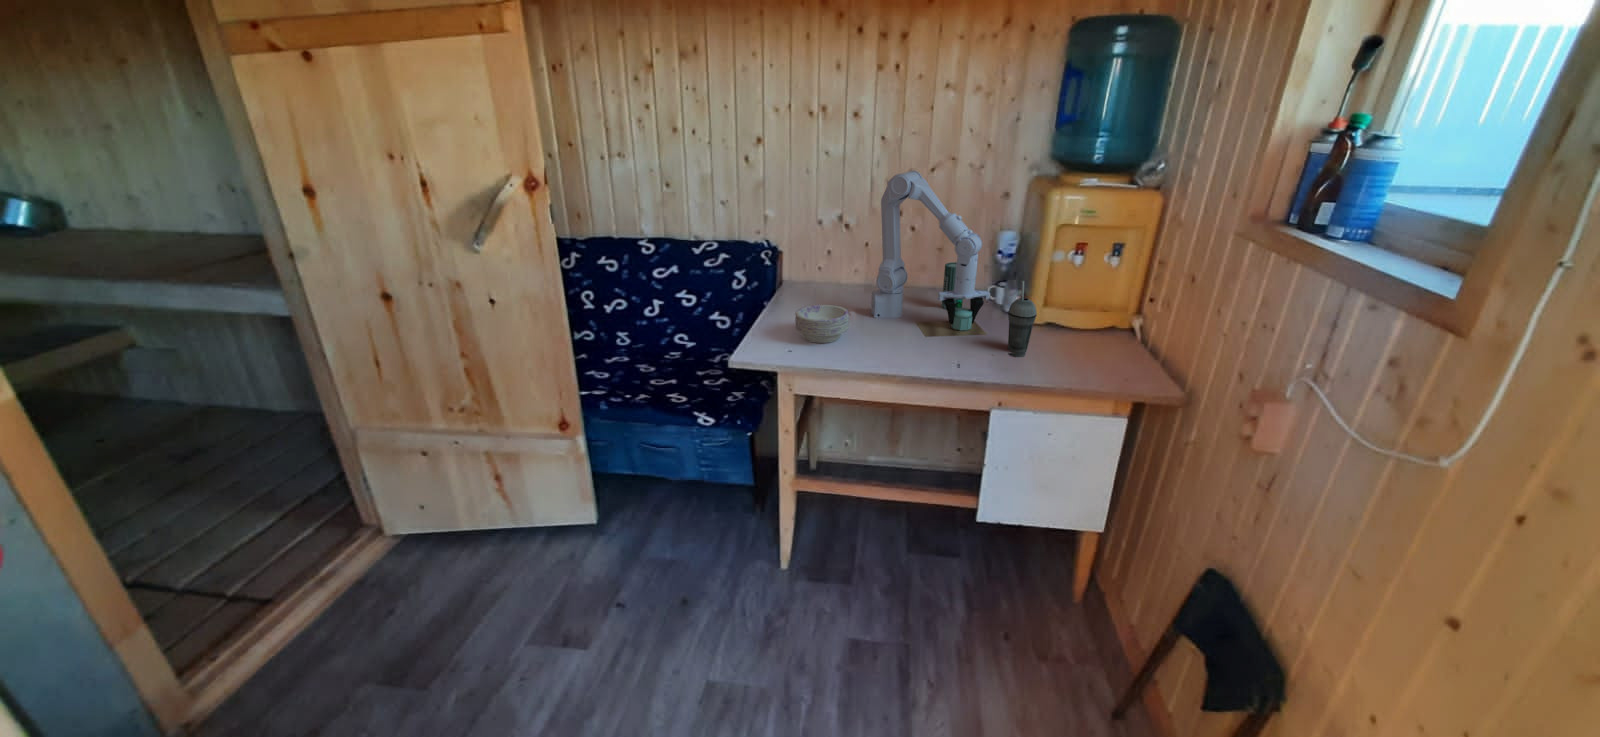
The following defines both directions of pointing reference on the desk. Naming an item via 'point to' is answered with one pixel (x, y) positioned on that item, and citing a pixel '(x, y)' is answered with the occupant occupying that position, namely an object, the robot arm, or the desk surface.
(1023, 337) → the beverage cup
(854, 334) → the desk surface
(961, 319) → the cap
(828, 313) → the paper bowls
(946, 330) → the board
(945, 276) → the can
